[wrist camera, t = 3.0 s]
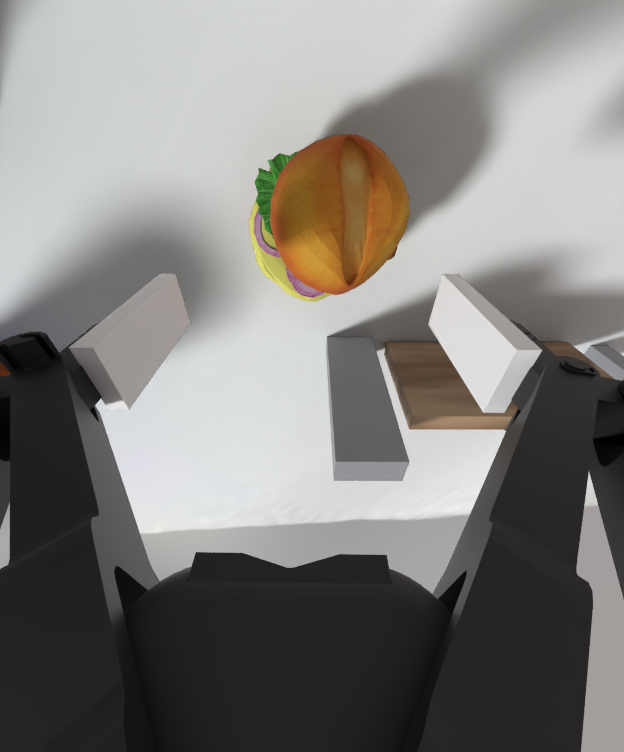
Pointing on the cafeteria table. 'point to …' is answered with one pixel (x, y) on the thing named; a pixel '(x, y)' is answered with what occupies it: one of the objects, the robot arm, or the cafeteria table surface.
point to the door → (447, 387)
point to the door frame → (383, 410)
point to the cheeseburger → (328, 216)
